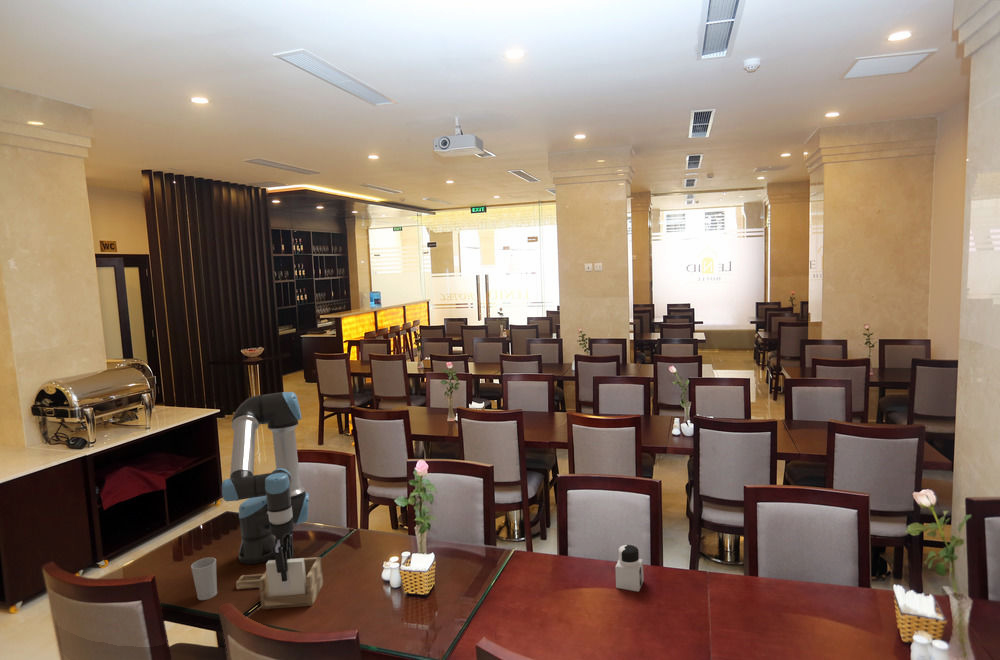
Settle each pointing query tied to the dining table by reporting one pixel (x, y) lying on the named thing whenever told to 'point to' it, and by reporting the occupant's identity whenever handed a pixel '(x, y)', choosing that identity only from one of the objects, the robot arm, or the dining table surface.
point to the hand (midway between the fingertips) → (287, 586)
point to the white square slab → (296, 578)
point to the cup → (205, 578)
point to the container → (629, 569)
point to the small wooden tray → (248, 581)
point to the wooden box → (313, 587)
